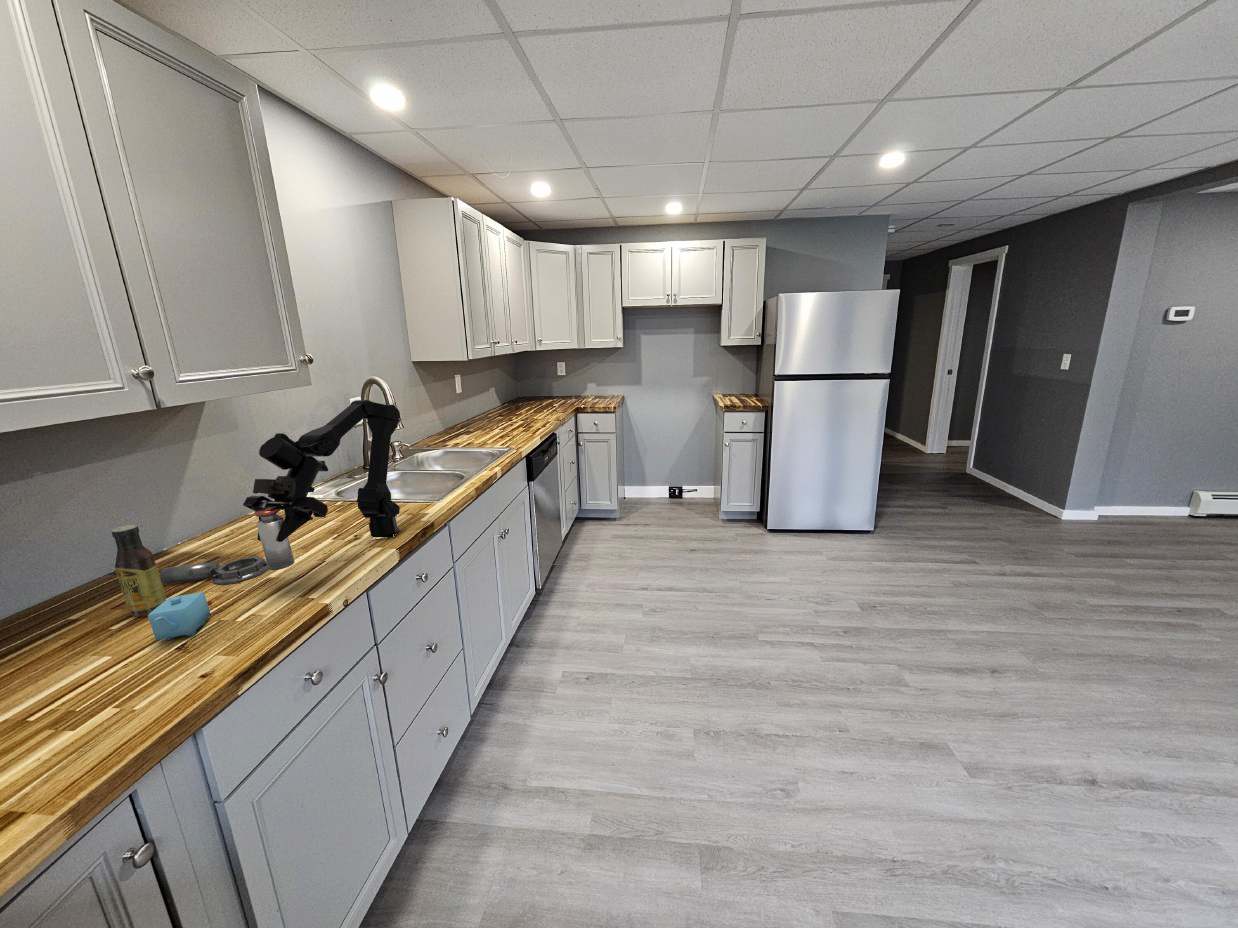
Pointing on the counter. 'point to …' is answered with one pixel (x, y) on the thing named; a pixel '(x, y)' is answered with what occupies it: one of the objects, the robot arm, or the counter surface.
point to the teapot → (179, 616)
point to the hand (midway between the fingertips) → (269, 541)
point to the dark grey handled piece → (216, 571)
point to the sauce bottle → (137, 572)
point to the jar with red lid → (273, 539)
